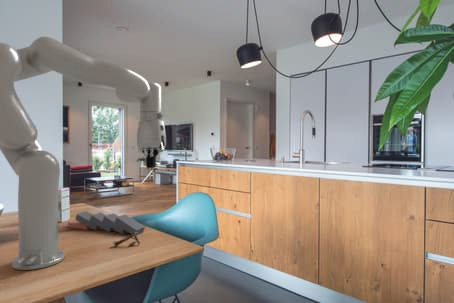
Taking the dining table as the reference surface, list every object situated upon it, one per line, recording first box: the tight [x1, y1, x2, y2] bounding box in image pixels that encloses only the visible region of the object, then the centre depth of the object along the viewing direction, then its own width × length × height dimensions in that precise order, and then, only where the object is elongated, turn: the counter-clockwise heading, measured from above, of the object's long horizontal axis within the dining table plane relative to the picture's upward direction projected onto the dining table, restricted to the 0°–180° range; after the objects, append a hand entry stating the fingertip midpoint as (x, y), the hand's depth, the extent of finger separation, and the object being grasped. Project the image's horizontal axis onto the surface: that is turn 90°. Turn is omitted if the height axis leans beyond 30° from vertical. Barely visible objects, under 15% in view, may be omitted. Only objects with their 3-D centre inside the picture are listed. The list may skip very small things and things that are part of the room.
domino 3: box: [90, 212, 115, 233], centre depth 114 cm, size 2×5×10 cm
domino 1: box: [67, 219, 91, 231], centre depth 118 cm, size 2×5×10 cm
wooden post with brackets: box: [112, 232, 141, 248], centre depth 95 cm, size 2×8×4 cm, turn 103°
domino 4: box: [102, 213, 129, 235], centre depth 112 cm, size 2×5×10 cm
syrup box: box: [58, 187, 71, 223], centre depth 128 cm, size 6×6×14 cm
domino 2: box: [74, 210, 102, 231], centre depth 116 cm, size 2×5×10 cm
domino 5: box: [115, 214, 146, 236], centre depth 110 cm, size 2×5×10 cm
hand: (151, 167), depth 106 cm, fingers closed
